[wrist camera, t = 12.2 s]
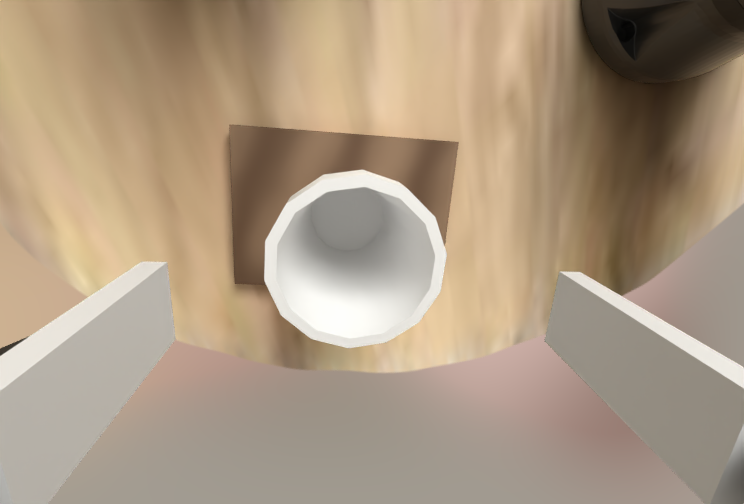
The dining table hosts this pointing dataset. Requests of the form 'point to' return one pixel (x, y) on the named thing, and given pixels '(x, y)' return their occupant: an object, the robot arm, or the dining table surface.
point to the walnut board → (309, 162)
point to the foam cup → (354, 259)
